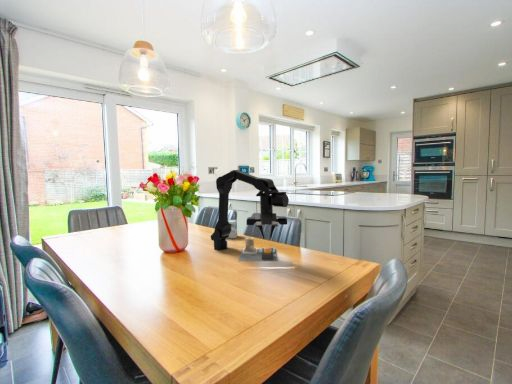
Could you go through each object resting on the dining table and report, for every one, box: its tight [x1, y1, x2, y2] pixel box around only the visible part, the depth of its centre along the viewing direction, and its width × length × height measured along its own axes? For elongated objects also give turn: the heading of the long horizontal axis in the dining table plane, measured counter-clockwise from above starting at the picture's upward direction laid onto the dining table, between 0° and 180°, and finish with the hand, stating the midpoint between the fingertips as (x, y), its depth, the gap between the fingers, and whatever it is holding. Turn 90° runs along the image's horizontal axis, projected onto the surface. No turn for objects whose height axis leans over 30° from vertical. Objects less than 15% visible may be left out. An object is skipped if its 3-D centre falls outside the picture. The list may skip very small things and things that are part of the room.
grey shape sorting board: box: [238, 247, 278, 262], centre depth 128 cm, size 18×18×4 cm
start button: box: [263, 246, 272, 254], centre depth 123 cm, size 4×4×3 cm
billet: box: [245, 236, 255, 252], centre depth 133 cm, size 4×4×7 cm
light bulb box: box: [227, 219, 238, 239], centre depth 168 cm, size 11×7×11 cm, turn 84°
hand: (267, 238), depth 123 cm, fingers open, 3 cm apart
